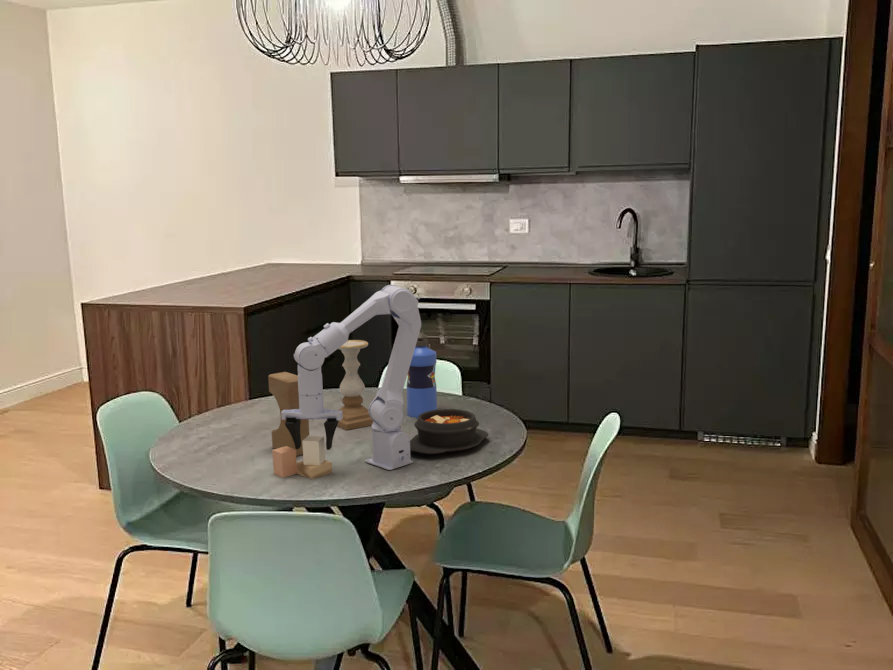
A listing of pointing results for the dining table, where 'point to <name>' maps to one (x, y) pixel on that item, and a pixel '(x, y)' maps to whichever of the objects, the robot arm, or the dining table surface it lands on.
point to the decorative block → (287, 399)
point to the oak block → (314, 469)
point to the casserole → (446, 432)
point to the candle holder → (353, 389)
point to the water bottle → (421, 379)
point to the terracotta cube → (284, 461)
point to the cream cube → (313, 450)
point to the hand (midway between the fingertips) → (313, 448)
